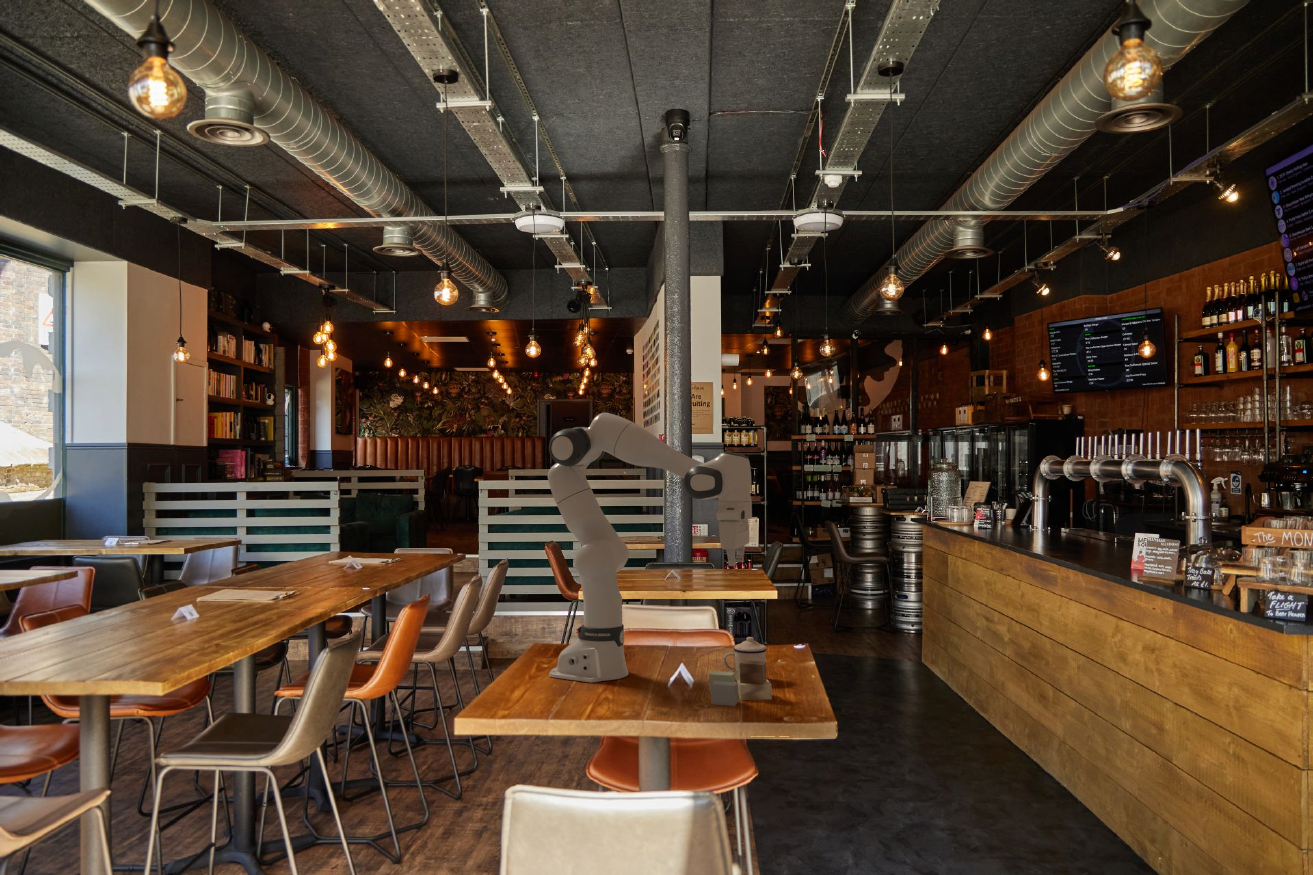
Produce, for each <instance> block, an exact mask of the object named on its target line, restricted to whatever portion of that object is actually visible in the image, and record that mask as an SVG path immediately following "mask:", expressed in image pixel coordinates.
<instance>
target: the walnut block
mask: <svg viewBox="0 0 1313 875" xmlns="http://www.w3.org/2000/svg"><path fill="white" fill-rule="evenodd" d="M766 679H767V661H766V662H760V661H747V660H743V661H742V662H741V663H740V683H748V684H760V685H763V684H764V683H765V682H766Z"/></svg>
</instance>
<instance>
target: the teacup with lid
mask: <svg viewBox="0 0 1313 875" xmlns="http://www.w3.org/2000/svg"><path fill="white" fill-rule="evenodd" d="M767 650H768V649H767V647H766V646H765V645H764V644H761V643H759V642H758V641H756V640H755V638H754V637H752V636H747V637H746V640H744V641H742V642H741V643H738V644H735V645H734V647H733V651H734V652H733V651H732V652H727V653H726V654H725V655H724V657H723V665H724V666H725V668H726V669H727V670H729V671H731V672H734V673H735V680H736V681H737V680H740V663H741V662H742V661H743V660H747V661H760V662H766V663H767V656H766V655H767ZM729 656H734V667H730V665H728V663H727V657H729Z"/></svg>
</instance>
